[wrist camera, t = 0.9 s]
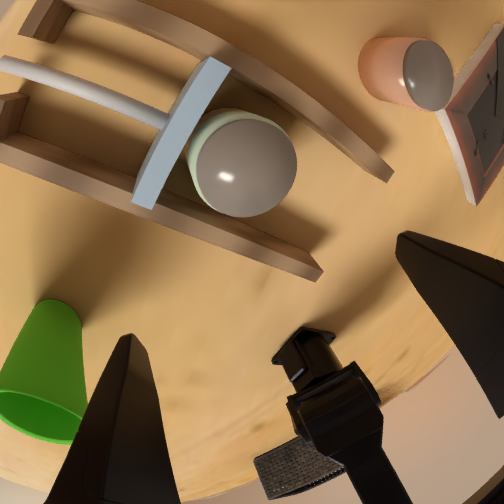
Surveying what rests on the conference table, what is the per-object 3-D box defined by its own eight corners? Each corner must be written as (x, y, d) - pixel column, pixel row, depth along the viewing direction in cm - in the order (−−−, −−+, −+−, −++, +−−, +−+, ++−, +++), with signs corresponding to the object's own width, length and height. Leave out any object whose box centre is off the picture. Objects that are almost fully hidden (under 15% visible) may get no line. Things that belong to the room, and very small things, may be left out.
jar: (416, 69, 19) (462, 78, 14) (389, 114, 20) (435, 129, 16) (377, 24, 16) (426, 22, 11) (346, 71, 18) (394, 75, 13)
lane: (372, 159, 22) (399, 174, 20) (300, 262, 26) (318, 286, 24) (69, -9, 9) (53, -24, 6) (1, 143, 13) (-25, 157, 10)
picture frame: (492, 22, 16) (427, 104, 21) (506, 24, 14) (446, 109, 19) (519, 111, 25) (464, 199, 30) (530, 116, 23) (477, 207, 29)
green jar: (282, 133, 19) (318, 151, 15) (240, 199, 21) (263, 234, 17) (212, 92, 16) (231, 95, 12) (170, 167, 18) (173, 196, 14)
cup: (104, 292, 22) (95, 409, 13) (97, 355, 26) (97, 451, 17) (13, 270, 18) (-30, 374, 9) (22, 338, 22) (3, 429, 13)
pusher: (213, 72, 15) (231, 68, 11) (153, 179, 18) (151, 210, 14) (46, 8, 9) (15, -8, 5) (-3, 119, 12) (-42, 135, 8)
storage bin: (338, 411, 56) (363, 457, 45) (363, 415, 67) (383, 451, 56) (247, 460, 61) (262, 501, 50) (285, 459, 72) (300, 493, 62)
